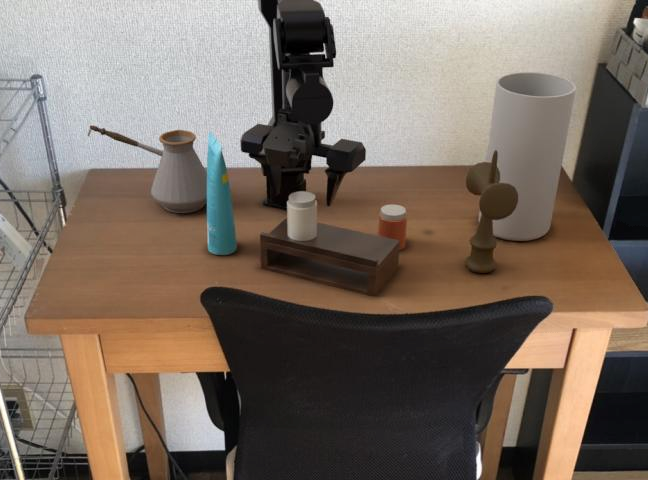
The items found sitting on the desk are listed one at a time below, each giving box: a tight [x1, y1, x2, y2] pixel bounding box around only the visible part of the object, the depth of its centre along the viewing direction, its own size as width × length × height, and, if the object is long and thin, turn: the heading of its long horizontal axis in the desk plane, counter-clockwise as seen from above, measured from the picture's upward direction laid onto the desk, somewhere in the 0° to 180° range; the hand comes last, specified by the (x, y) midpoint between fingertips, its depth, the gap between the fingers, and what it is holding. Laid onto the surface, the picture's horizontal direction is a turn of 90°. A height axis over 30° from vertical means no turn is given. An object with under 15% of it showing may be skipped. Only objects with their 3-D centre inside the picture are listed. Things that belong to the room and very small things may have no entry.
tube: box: [206, 130, 238, 256], centre depth 137 cm, size 7×5×19 cm, turn 26°
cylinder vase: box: [478, 71, 577, 242], centre depth 143 cm, size 12×12×25 cm
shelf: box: [259, 217, 400, 297], centre depth 136 cm, size 20×10×6 cm, turn 64°
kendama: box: [464, 150, 518, 274], centre depth 132 cm, size 6×10×20 cm, turn 8°
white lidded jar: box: [286, 191, 318, 241], centre depth 135 cm, size 5×5×6 cm
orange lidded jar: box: [377, 204, 408, 251], centre depth 142 cm, size 5×5×6 cm
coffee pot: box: [87, 124, 207, 214], centre depth 152 cm, size 21×12×15 cm, turn 91°
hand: (302, 199), depth 133 cm, fingers open, 9 cm apart
